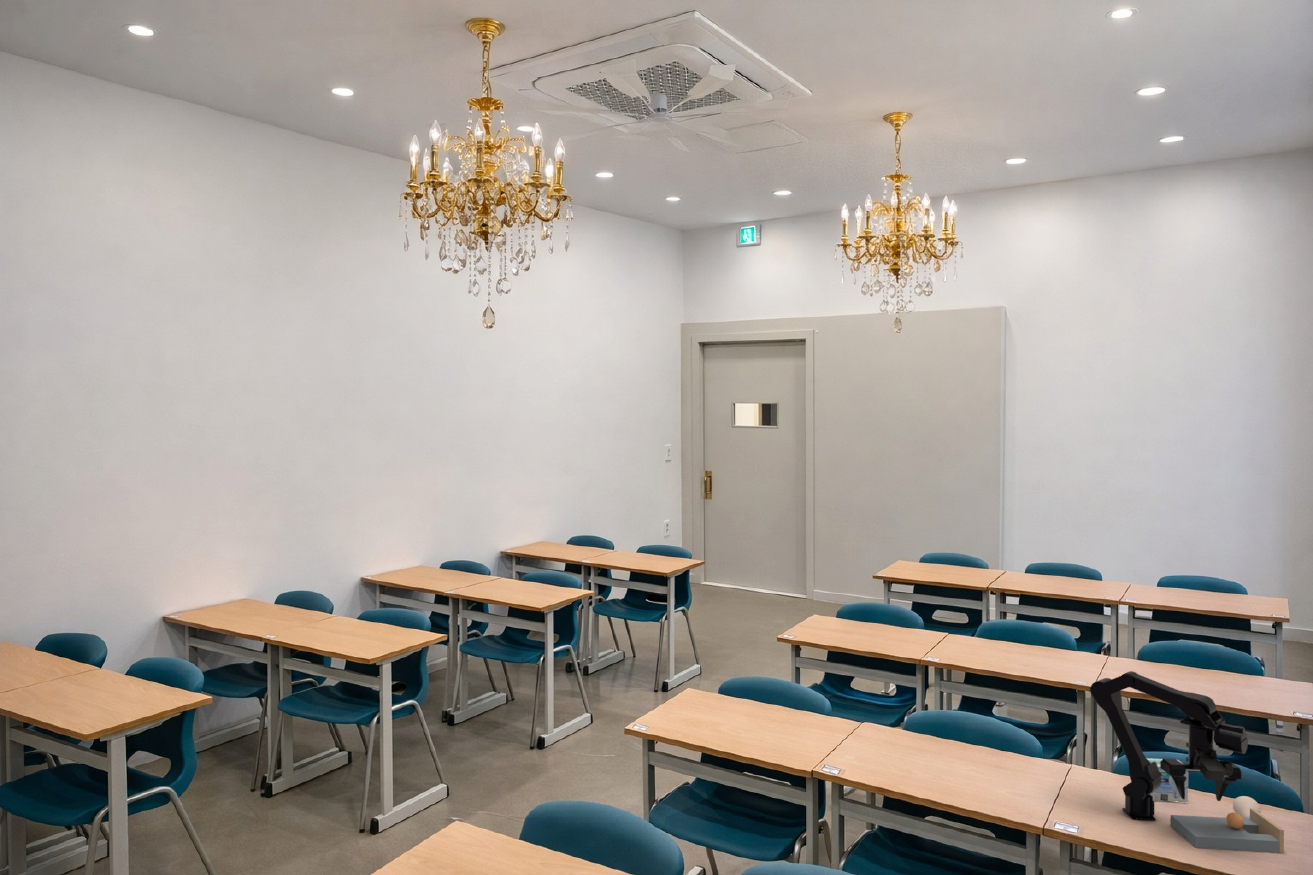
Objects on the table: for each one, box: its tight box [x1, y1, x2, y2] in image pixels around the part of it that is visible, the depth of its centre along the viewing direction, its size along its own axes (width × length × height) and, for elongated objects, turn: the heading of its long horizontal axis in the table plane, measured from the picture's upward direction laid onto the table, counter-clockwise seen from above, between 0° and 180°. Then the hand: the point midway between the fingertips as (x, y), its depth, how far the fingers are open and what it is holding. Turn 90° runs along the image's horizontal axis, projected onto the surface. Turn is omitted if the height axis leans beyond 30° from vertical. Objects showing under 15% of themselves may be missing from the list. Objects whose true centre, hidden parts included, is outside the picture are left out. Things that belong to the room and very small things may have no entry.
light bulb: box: [1232, 795, 1261, 819], centre depth 237 cm, size 7×7×11 cm
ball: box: [1225, 812, 1244, 829], centre depth 227 cm, size 4×4×4 cm
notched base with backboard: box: [1169, 808, 1285, 854], centre depth 227 cm, size 22×13×6 cm, turn 84°
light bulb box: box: [1146, 757, 1190, 803], centre depth 253 cm, size 11×7×11 cm, turn 83°
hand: (1200, 799), depth 229 cm, fingers open, 9 cm apart
